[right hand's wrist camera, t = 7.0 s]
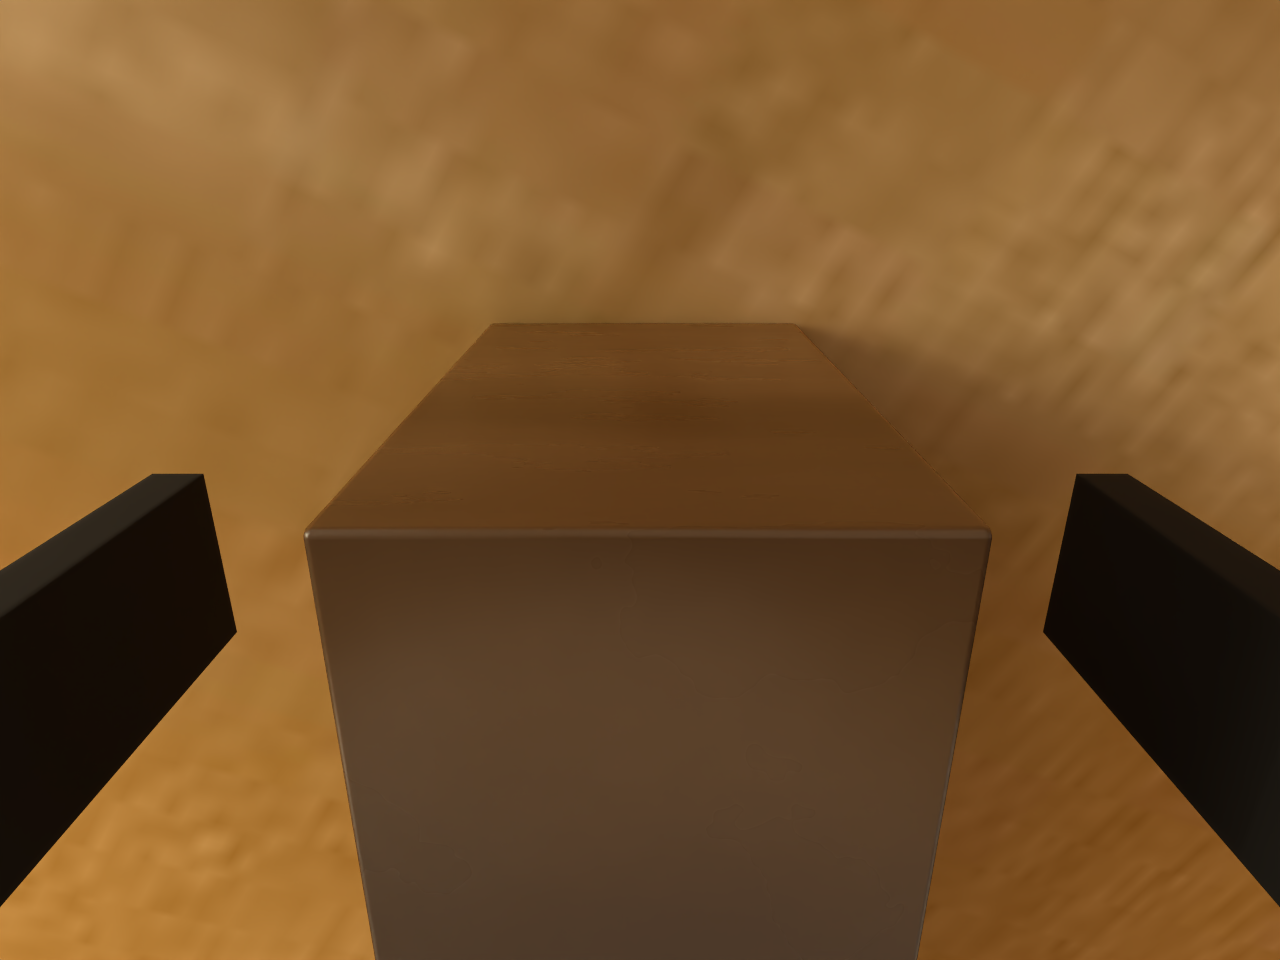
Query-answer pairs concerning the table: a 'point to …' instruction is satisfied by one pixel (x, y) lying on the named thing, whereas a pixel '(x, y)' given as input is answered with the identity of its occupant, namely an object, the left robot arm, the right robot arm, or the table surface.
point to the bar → (646, 654)
